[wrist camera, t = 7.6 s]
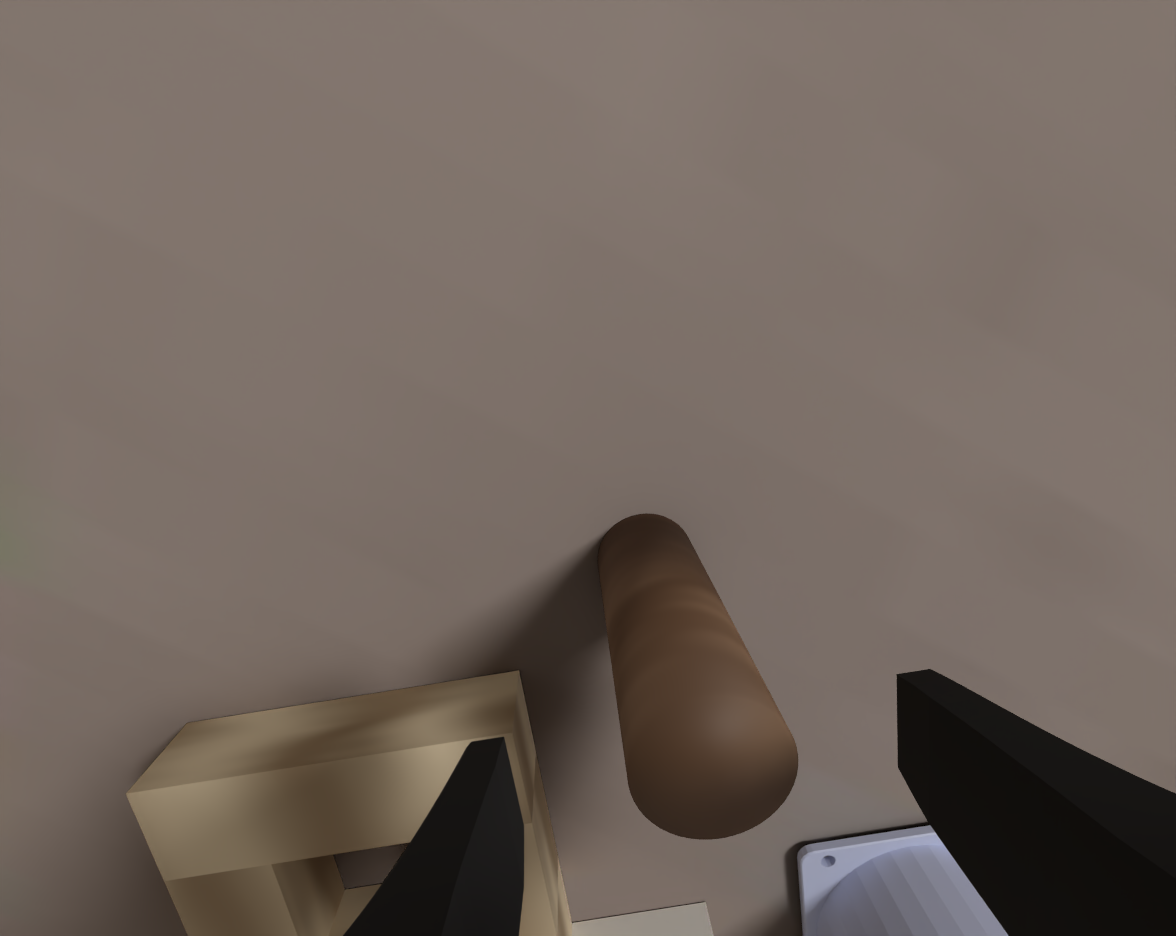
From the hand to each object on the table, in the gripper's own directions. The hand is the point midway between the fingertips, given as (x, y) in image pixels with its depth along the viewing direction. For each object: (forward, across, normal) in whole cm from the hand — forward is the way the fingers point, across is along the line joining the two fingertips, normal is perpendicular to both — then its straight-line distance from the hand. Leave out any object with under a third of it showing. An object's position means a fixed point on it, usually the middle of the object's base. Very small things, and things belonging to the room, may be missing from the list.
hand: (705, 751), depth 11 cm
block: (+9, +10, +9) cm, 16 cm away
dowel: (+9, 0, 0) cm, 9 cm away
